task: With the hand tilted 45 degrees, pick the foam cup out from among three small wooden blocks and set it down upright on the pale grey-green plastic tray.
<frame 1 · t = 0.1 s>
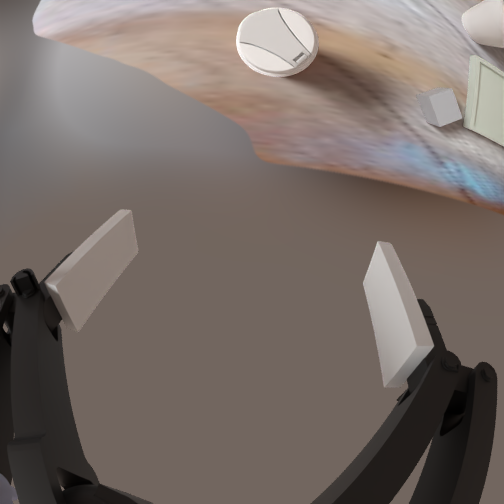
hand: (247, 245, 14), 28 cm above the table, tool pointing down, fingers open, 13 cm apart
foam cup: (475, 27, 19), on the table
tray: (494, 104, 25), on the table
grey painted block: (432, 104, 29), on the table
paper cup: (282, 57, 30), on the table
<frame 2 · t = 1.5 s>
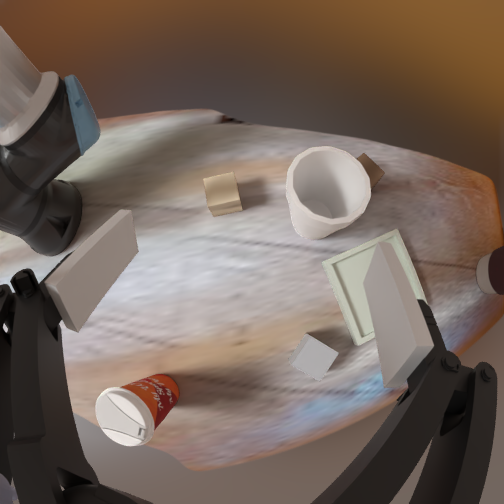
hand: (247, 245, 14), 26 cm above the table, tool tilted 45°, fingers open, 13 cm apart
foam cup: (312, 220, 41), on the table
tray: (375, 286, 38), on the table
grey painted block: (310, 353, 37), on the table
walnut block: (357, 183, 41), on the table
beech block: (225, 200, 42), on the table
coffee cup: (486, 275, 37), on the table
paper cup: (162, 390, 37), on the table
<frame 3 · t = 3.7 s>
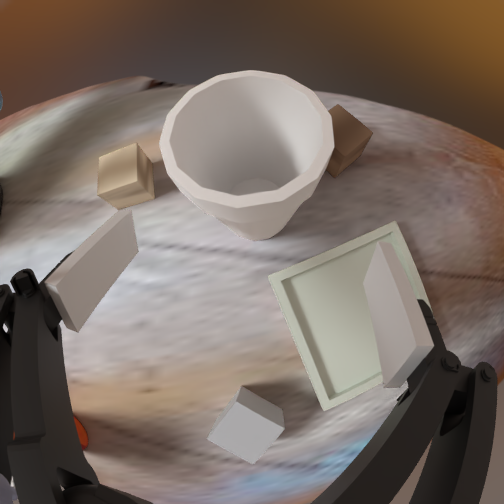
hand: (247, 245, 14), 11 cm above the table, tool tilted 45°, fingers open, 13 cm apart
foam cup: (256, 209, 26), on the table
tray: (359, 314, 23), on the table
grey painted block: (248, 415, 22), on the table
walnut block: (332, 152, 27), on the table
beech block: (135, 186, 28), on the table
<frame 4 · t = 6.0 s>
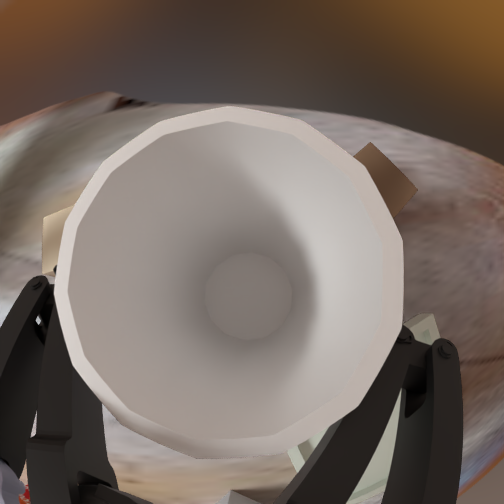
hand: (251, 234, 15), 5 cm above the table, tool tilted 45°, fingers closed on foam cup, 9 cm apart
foam cup: (248, 296, 19), on the table, touching gripper
tray: (372, 423, 16), on the table
walnut block: (356, 208, 20), on the table
beech block: (93, 251, 20), on the table
paper cup: (59, 493, 15), on the table
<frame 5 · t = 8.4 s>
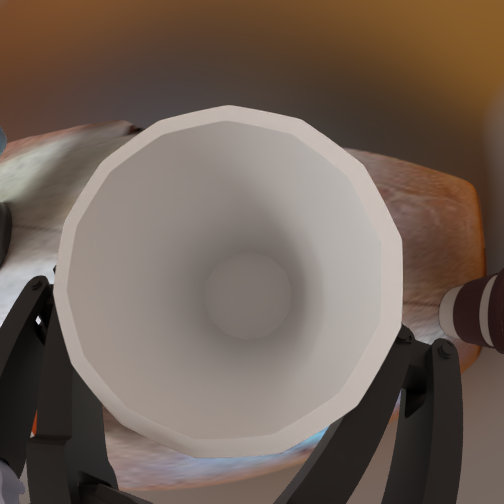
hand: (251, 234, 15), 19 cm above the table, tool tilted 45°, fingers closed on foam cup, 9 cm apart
foam cup: (248, 296, 19), point 14 cm above the table, touching gripper
coffee cup: (454, 312, 31), on the table
when the fingers open (7 cm above the table, at t = 11.1 s): foam cup drops 1 cm, resting on tray.
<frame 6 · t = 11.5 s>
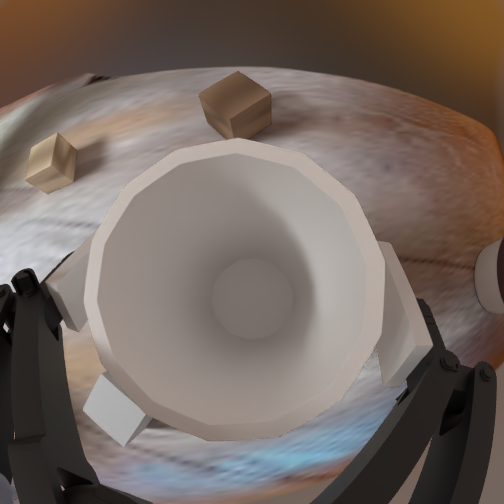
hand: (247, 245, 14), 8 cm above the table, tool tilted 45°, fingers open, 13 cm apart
foam cup: (252, 299, 20), point 1 cm above the table, touching tray
grey painted block: (136, 397, 20), on the table
walnut block: (239, 123, 25), on the table
beech block: (62, 172, 26), on the table
coffee cup: (491, 279, 20), on the table
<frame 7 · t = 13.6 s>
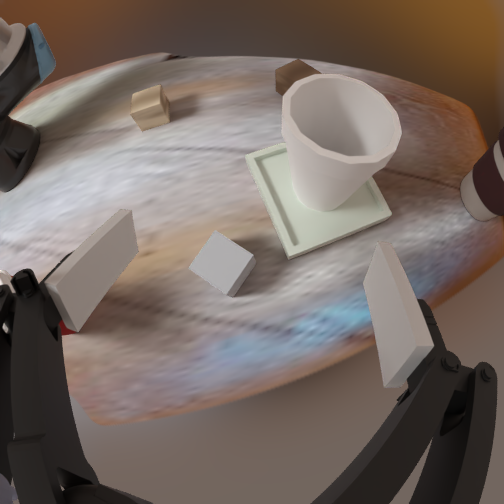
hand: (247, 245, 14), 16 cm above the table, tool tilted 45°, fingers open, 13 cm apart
foam cup: (320, 187, 30), point 1 cm above the table, touching tray
tray: (317, 189, 31), on the table
grey painted block: (227, 269, 30), on the table
walnut block: (297, 92, 35), on the table
beech block: (155, 116, 36), on the table
coffee cup: (475, 199, 30), on the table
paper cup: (70, 313, 31), on the table
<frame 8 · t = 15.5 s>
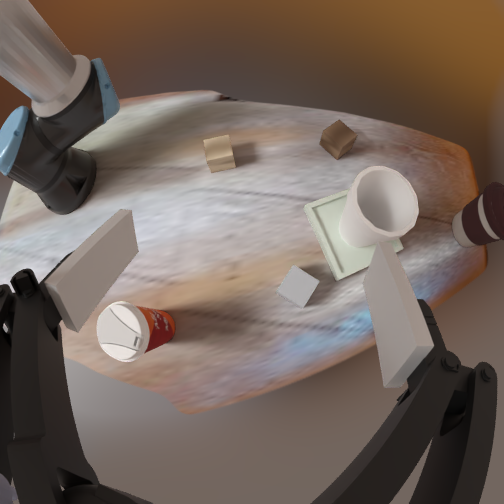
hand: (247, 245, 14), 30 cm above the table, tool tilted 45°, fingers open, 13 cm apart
foam cup: (356, 229, 43), point 1 cm above the table, touching tray
tray: (353, 230, 44), on the table
grey painted block: (295, 288, 43), on the table
walnut block: (335, 146, 47), on the table
beech block: (221, 160, 48), on the table
coffee cup: (462, 230, 43), on the table
paper cup: (160, 326, 43), on the table
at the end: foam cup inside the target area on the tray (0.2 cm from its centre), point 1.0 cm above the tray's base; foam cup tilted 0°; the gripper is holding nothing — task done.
